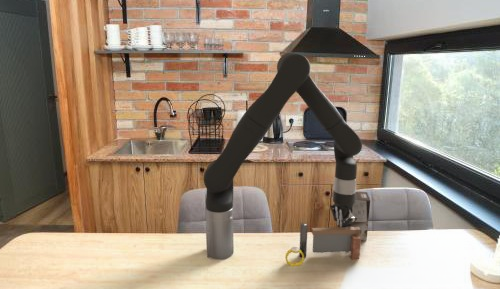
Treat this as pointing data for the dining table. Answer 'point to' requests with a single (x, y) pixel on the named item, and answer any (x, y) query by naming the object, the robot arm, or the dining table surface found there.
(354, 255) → the block
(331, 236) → the gate
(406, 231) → the dining table surface
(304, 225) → the gate post
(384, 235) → the dining table surface
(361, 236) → the coffee box
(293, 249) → the watch
